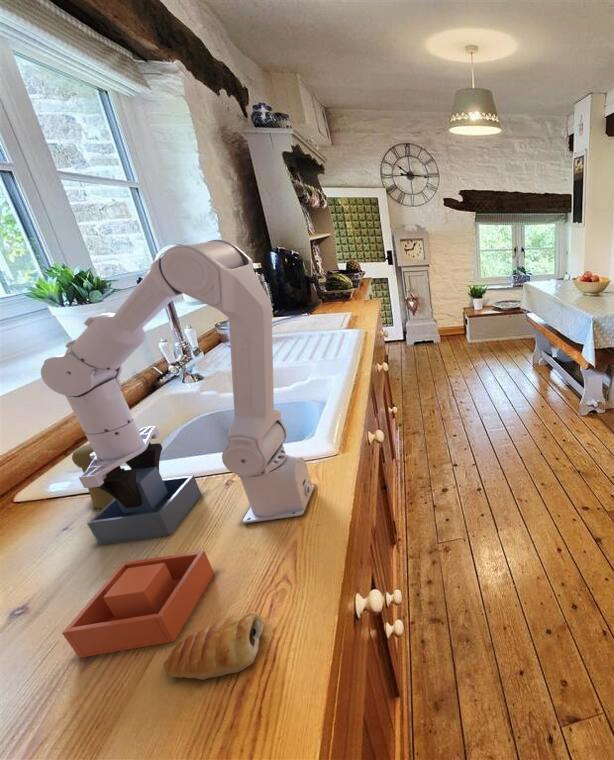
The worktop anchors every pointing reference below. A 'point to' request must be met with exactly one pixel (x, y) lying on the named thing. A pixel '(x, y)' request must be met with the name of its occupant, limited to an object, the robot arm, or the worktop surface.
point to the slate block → (148, 489)
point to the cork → (83, 461)
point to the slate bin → (147, 515)
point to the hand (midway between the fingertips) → (143, 495)
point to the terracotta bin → (106, 634)
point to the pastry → (217, 648)
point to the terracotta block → (140, 591)
